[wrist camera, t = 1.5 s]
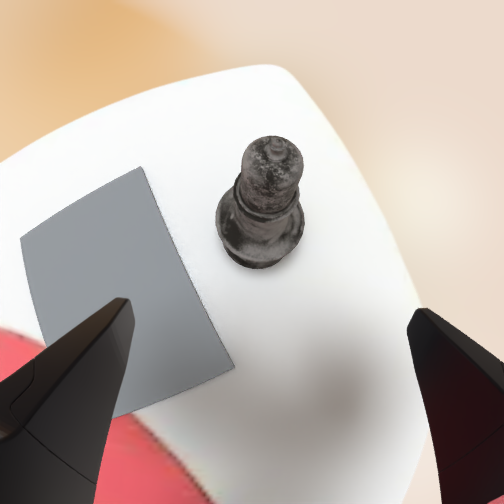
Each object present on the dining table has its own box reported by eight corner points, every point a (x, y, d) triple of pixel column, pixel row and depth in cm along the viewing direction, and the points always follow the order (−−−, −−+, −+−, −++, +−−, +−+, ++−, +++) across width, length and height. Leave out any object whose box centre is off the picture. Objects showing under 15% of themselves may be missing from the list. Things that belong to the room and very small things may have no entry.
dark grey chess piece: (303, 216, 23) (359, 118, 11) (279, 284, 21) (330, 230, 10) (235, 190, 23) (238, 76, 12) (206, 255, 22) (176, 172, 10)
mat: (234, 366, 20) (234, 367, 19) (85, 426, 17) (83, 428, 17) (142, 168, 23) (141, 166, 23) (22, 239, 21) (20, 238, 21)
